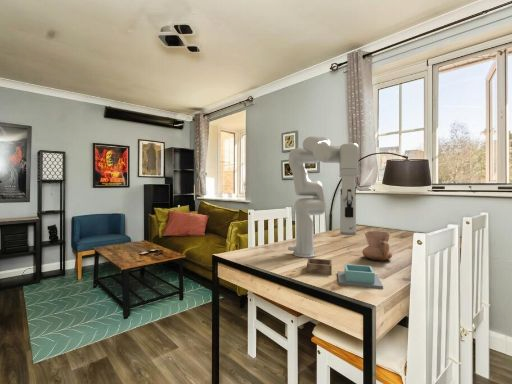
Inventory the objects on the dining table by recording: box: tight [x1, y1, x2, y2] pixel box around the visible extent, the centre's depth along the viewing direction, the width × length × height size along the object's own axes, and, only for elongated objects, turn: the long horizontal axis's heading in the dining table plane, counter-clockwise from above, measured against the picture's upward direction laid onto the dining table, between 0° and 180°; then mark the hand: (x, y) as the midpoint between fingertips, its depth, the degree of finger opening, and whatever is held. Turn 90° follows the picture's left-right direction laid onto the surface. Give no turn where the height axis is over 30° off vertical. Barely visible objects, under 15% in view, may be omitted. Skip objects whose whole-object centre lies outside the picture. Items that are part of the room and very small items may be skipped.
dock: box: [337, 263, 384, 290], centre depth 112 cm, size 16×14×5 cm
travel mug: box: [339, 185, 358, 236], centre depth 114 cm, size 6×7×20 cm
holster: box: [306, 257, 333, 276], centre depth 125 cm, size 11×10×4 cm
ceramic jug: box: [361, 230, 393, 262], centre depth 144 cm, size 18×14×14 cm
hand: (348, 216), depth 114 cm, fingers closed on travel mug, 6 cm apart
